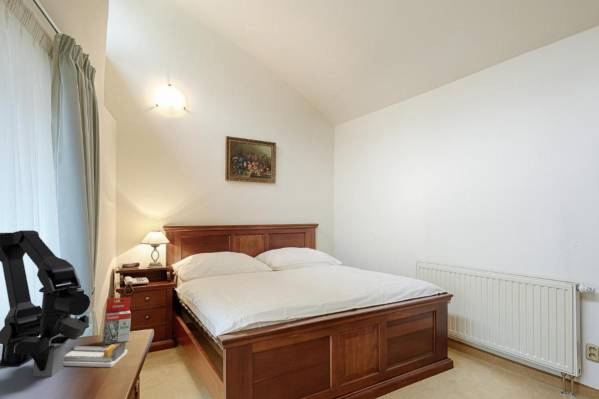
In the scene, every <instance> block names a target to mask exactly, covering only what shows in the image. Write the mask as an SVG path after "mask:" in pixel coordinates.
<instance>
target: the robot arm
mask: <svg viewBox="0 0 599 399" xmlns="http://www.w3.org/2000/svg"><path fill="white" fill-rule="evenodd" d="M25 254H26V255H27V256H28V258H29V259H30V260H31V261H32V263H34V265H35V266H36V267H37V269H38V270H37V274H36V276H37V279H38V280H39V282H40V284H41V285H42V287H41V288H39V290H38V291H39V293H42V301H41V306H40V305H35V304H34V303H33V302H32V299H31V294H30V288H29V283H28V278H27V272H26V267H25V262H24V256H25ZM0 262H1V266H2V271H3V276H4V282H5V288H6V289H5V290H6V293H7V298H8V300H7V301H8V306H9V310H8V312H7V314H6V316H5V318H4V321H3V322H4V323H3V324H4V325H3V327H2V328H1V329H0V345H2V349H1V359H0V366H7V367H8V366H11V367H12V366H13V367H18V366H21V365H23V364H25V363H27V362H28V361H29V362H30V360H33V362H34V361H35V363H36V365H37V367H38V369H39V370H40V371H44V370H45V368H46V364H47V359H48V354H49V351H50V350H51V349H52V348H54V347H55V346H50V344H51V343H60V344H65V345H66V343H67V342H68V340H75V341H76V340H78V338H79V337H81V336H83V335H84V333H85V332H86V329H88V328H90V317H89V316H88V315H86V314H84V313H86V312H87V311H88V309H89V308H90V306H91V299H90V296H89V295H88V294H85V289H84V288H82V284H81V280H80V278H79V277H78V274H77V272H76V269H75V267H74V266H73V264H71V263H70V262H69V261H68V260H66V259H63V258H60V257H58V256H57V255H56V254H54V252H53V251H52V250H51V249H50V248H49V247H48V245H47V244H46V243H45V241H43V239H42V238H41V237H40V234H39V232H38V231H36V230H32V229H31V230H24V229H23V230H18V231H13V232H0ZM81 315H82V316H81ZM72 316H75V317H72ZM77 316H79V318H78V317H77Z"/></svg>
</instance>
